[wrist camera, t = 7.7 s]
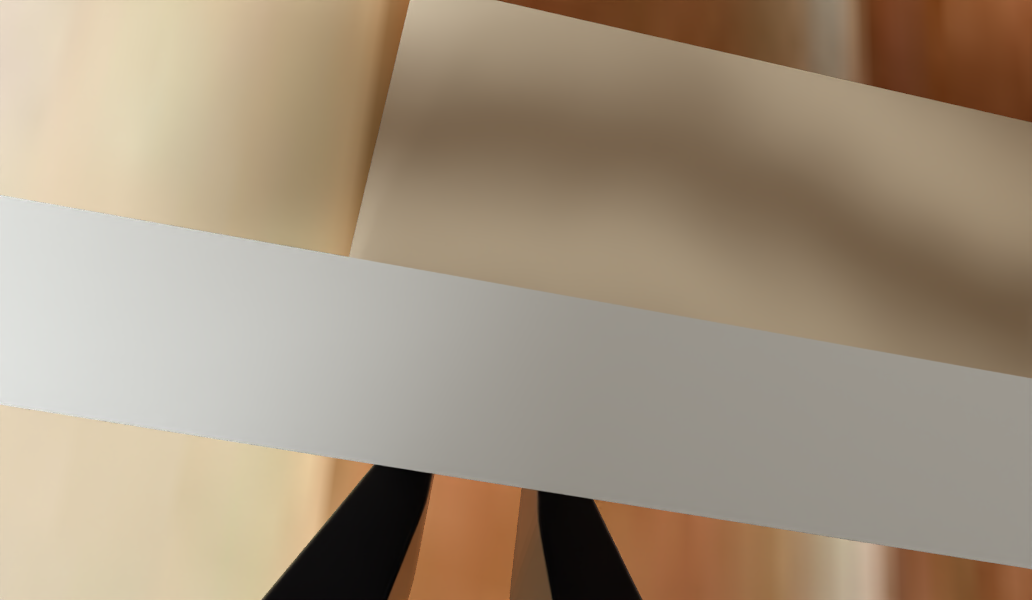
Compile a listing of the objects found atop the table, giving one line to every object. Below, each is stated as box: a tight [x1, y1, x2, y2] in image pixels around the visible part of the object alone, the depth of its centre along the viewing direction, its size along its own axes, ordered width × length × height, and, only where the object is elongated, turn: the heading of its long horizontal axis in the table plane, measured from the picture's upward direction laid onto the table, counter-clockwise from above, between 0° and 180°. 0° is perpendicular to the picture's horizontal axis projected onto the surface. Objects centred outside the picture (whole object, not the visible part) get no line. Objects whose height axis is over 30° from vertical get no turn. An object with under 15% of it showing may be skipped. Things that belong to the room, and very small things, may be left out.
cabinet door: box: [0, 195, 1032, 569], centre depth 10 cm, size 2×17×11 cm, turn 80°
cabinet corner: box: [349, 0, 1032, 378], centre depth 11 cm, size 10×19×12 cm, turn 79°
